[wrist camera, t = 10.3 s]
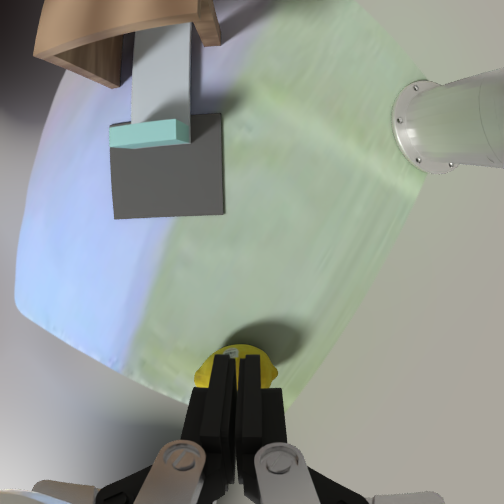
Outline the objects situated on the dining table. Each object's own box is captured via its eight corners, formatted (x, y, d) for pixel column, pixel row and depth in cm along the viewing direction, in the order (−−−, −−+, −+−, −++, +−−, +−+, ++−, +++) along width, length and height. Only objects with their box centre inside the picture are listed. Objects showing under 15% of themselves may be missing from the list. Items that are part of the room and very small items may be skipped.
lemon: (278, 335, 41) (283, 371, 33) (272, 378, 43) (276, 416, 35) (199, 330, 41) (189, 365, 33) (200, 373, 43) (192, 410, 35)
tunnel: (221, 7, 29) (203, -73, 13) (220, 74, 31) (197, 12, 16) (116, 23, 29) (54, -31, 13) (111, 88, 31) (33, 55, 16)
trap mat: (220, 113, 33) (220, 113, 32) (223, 214, 36) (223, 214, 36) (110, 125, 33) (109, 125, 33) (115, 219, 36) (114, 219, 36)
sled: (197, -15, 27) (188, -43, 20) (194, 143, 33) (181, 138, 27) (139, -5, 27) (120, -29, 20) (130, 149, 33) (105, 147, 27)
